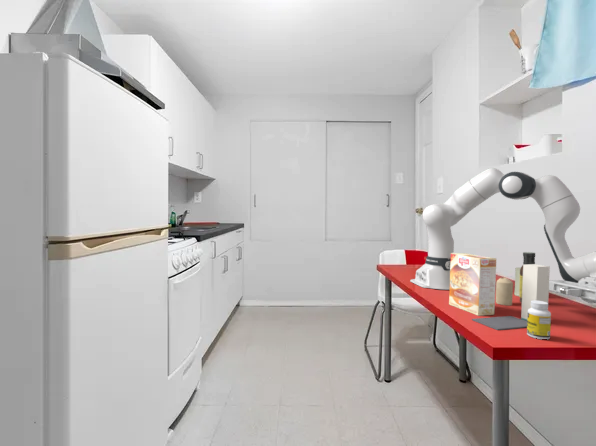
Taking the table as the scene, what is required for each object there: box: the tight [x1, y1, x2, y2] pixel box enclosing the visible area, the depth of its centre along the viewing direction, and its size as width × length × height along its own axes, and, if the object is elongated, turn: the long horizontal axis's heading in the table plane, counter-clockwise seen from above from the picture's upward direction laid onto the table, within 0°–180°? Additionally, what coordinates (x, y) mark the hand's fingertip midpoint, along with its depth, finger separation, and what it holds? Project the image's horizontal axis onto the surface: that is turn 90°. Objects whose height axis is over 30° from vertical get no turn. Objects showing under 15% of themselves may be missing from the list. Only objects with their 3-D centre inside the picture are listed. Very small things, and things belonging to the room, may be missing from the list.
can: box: [513, 267, 521, 297], centre depth 150 cm, size 9×9×12 cm
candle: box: [495, 277, 514, 306], centre depth 135 cm, size 6×6×10 cm
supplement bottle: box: [526, 300, 552, 340], centre depth 98 cm, size 5×5×10 cm
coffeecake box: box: [448, 252, 497, 317], centre depth 125 cm, size 15×7×20 cm, turn 14°
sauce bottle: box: [518, 251, 536, 304], centre depth 137 cm, size 6×6×20 cm
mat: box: [471, 315, 527, 331], centre depth 110 cm, size 10×16×1 cm, turn 106°
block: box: [520, 263, 551, 321], centre depth 113 cm, size 5×5×18 cm
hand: (563, 291), depth 116 cm, fingers closed
